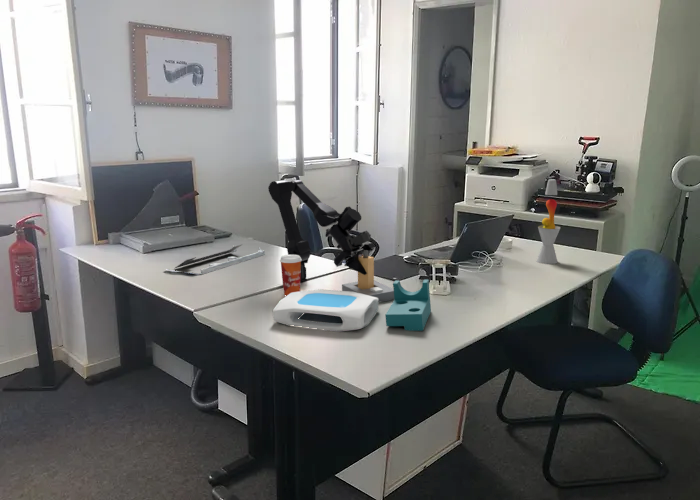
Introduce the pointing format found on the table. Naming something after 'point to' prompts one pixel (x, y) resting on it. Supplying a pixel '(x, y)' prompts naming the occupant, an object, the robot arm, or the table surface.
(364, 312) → the document scanner
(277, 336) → the table surface
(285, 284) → the paper cup
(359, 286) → the plug
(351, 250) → the robot arm
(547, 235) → the lava lamp
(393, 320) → the teal l-shaped bracket
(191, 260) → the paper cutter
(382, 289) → the socket plate
